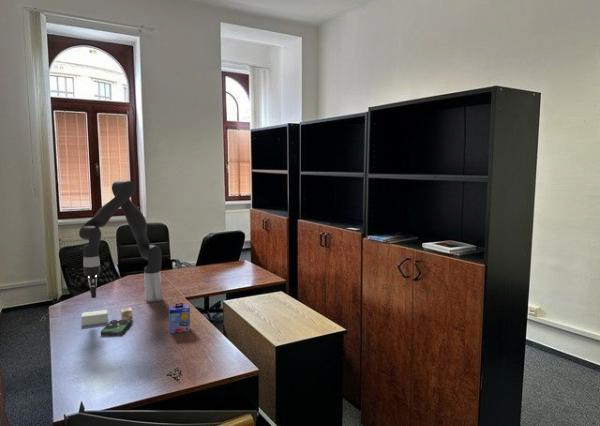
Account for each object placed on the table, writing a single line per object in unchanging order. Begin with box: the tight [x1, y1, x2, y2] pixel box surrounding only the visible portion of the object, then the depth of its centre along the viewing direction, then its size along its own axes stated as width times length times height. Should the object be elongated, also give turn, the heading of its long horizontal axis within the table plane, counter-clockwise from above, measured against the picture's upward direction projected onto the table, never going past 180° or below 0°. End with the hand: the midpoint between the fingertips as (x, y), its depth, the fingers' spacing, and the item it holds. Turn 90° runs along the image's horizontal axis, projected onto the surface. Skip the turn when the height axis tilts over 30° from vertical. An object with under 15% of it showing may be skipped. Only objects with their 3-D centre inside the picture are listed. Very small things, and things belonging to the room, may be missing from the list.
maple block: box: [120, 307, 133, 320], centre depth 225 cm, size 5×5×5 cm
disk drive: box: [100, 319, 133, 337], centre depth 211 cm, size 10×3×15 cm
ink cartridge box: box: [168, 302, 191, 334], centre depth 209 cm, size 10×6×14 cm, turn 113°
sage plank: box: [81, 309, 109, 327], centre depth 220 cm, size 12×6×5 cm, turn 113°
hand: (93, 295), depth 219 cm, fingers open, 8 cm apart
